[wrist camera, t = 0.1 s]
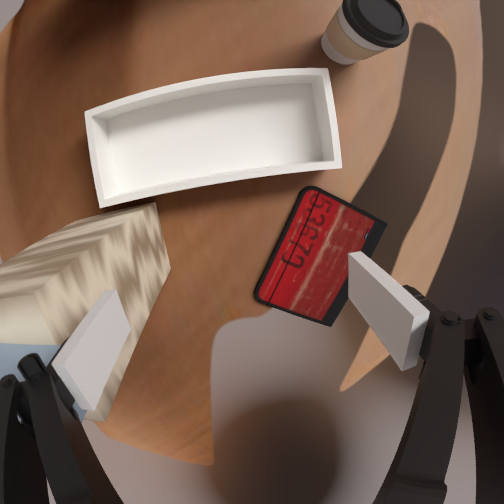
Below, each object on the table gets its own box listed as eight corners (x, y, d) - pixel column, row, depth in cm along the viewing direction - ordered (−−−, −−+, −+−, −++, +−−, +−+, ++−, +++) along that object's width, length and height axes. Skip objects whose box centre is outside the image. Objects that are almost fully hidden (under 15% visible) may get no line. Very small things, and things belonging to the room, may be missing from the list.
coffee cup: (350, 81, 36) (401, 56, 22) (303, 47, 34) (336, 5, 20) (374, 47, 34) (424, 18, 19) (330, 15, 31) (367, -27, 17)
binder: (389, 224, 42) (332, 328, 48) (383, 220, 44) (328, 321, 50) (305, 181, 40) (250, 301, 46) (302, 180, 42) (249, 295, 48)
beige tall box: (76, 220, 40) (-57, 305, 12) (155, 201, 40) (33, 294, 12) (94, 280, 44) (-3, 400, 15) (170, 268, 44) (105, 422, 16)
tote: (102, 115, 35) (84, 111, 29) (315, 78, 36) (327, 68, 30) (116, 200, 40) (100, 208, 34) (327, 165, 40) (342, 168, 35)
